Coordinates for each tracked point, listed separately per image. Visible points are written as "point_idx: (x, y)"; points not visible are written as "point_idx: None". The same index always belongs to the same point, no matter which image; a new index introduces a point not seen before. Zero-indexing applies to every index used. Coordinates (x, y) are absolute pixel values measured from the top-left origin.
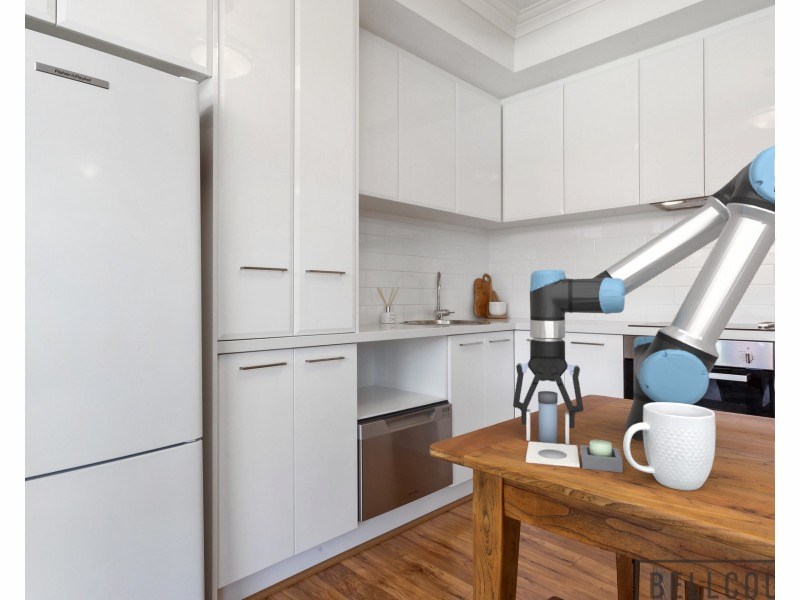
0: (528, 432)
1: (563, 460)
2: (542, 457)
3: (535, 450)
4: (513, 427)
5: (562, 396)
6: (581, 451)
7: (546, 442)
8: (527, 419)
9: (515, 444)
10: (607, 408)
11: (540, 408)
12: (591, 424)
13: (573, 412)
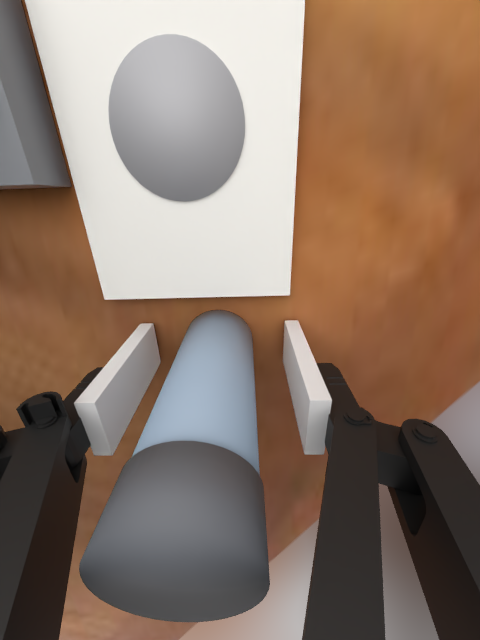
0: (295, 336)
1: (109, 25)
2: (218, 46)
3: (258, 166)
4: None
5: (31, 533)
6: (3, 73)
7: (221, 313)
8: (313, 370)
9: (341, 273)
10: (109, 606)
11: (243, 424)
12: None
13: (29, 404)
